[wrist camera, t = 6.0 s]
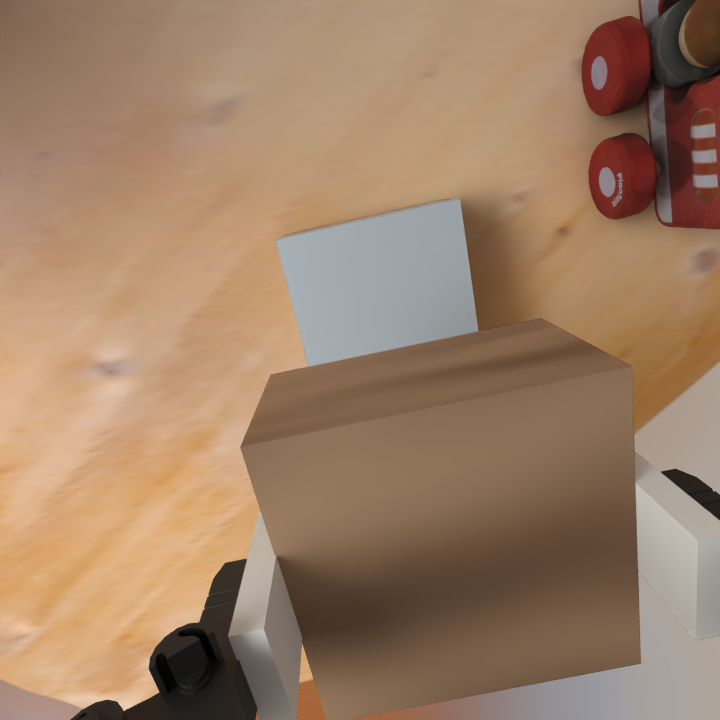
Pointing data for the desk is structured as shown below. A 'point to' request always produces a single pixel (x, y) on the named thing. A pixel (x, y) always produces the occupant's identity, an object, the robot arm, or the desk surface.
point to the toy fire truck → (659, 112)
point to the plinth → (380, 281)
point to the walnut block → (453, 515)
